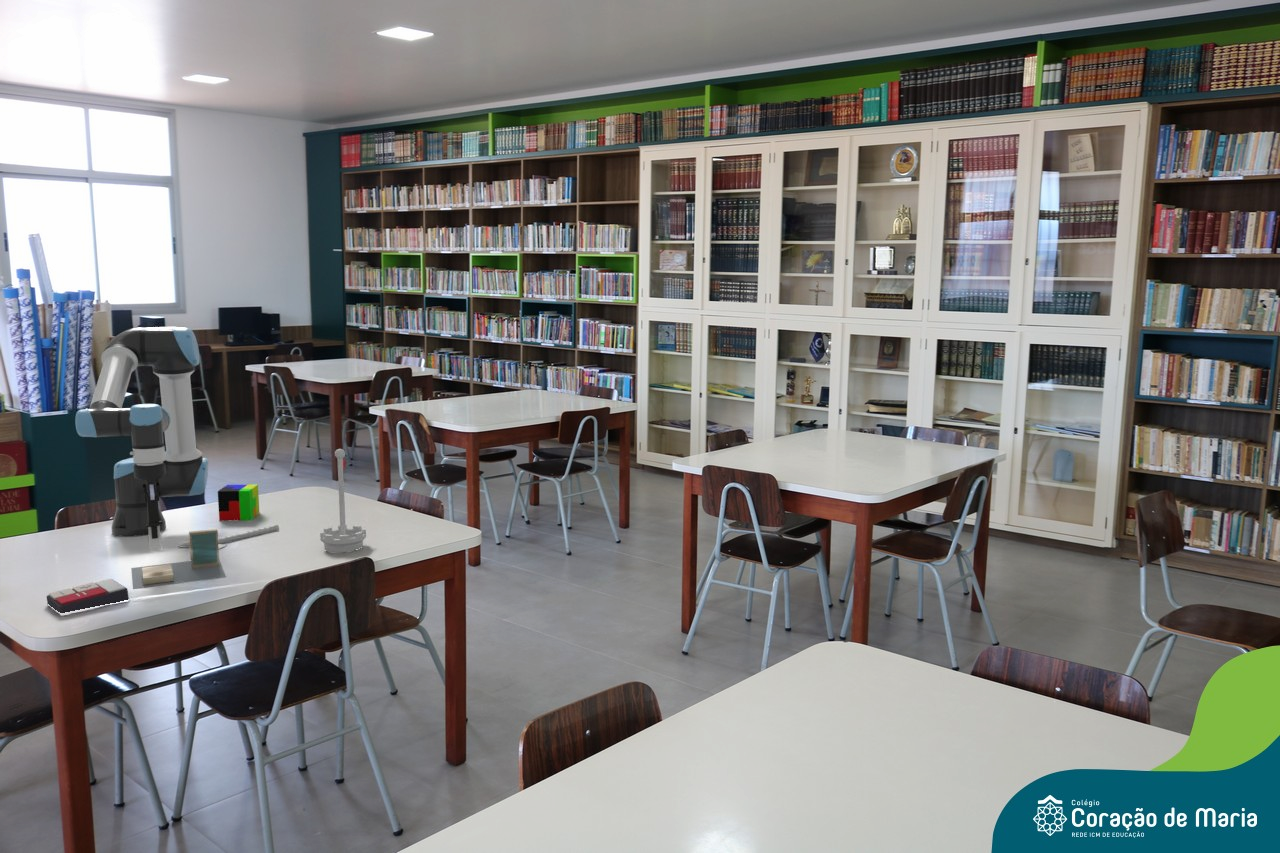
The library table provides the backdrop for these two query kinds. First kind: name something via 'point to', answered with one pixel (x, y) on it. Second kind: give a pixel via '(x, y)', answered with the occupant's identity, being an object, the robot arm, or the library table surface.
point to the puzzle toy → (238, 502)
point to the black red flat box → (87, 596)
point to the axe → (240, 536)
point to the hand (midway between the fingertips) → (155, 549)
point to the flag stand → (342, 521)
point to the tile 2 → (204, 548)
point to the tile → (157, 574)
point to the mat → (180, 574)
